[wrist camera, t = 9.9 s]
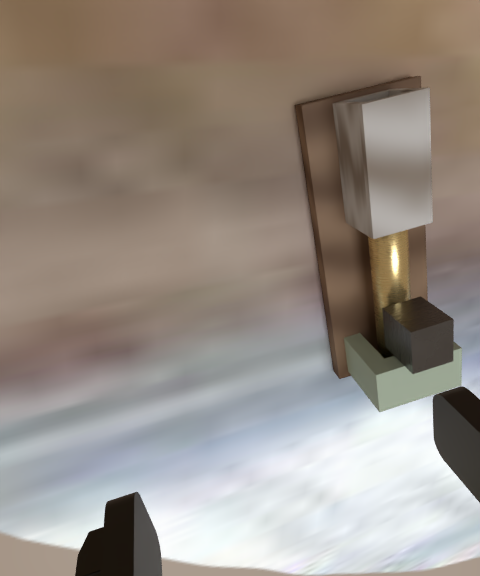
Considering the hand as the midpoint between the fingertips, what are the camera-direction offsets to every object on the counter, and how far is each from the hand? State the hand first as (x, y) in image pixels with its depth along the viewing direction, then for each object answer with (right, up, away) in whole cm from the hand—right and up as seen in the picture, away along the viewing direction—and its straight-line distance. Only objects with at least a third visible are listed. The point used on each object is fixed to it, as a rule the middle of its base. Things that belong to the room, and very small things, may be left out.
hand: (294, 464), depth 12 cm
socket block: (+13, -1, +33) cm, 36 cm away
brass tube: (+11, +6, +29) cm, 31 cm away
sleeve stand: (+10, +9, +30) cm, 33 cm away
